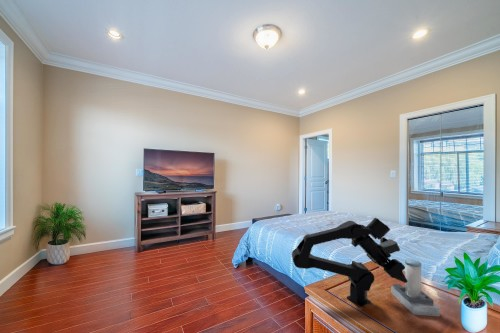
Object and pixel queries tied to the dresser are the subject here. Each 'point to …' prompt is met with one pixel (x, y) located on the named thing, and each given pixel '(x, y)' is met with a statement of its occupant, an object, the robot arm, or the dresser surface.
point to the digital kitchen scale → (415, 302)
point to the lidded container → (413, 278)
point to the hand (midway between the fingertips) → (399, 276)
